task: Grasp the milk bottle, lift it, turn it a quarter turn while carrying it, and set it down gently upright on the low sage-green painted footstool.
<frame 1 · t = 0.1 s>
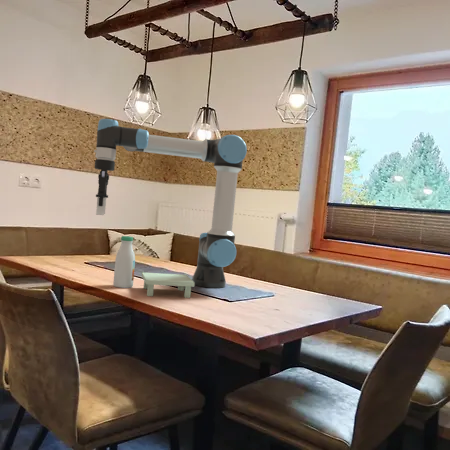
hand: (100, 214, 184), 28 cm above the table, fingers open, 13 cm apart
footstool: (166, 292, 184), on the table
milk bottle: (123, 286, 188), on the table
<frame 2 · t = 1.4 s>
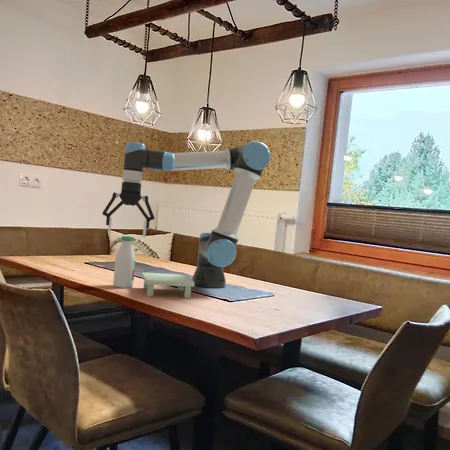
hand: (126, 235, 187), 20 cm above the table, fingers open, 13 cm apart
nothing on the table moved.
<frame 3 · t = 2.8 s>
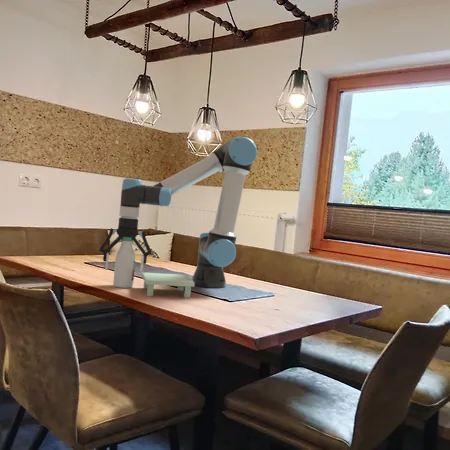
hand: (123, 270, 188), 6 cm above the table, fingers open, 13 cm apart
nothing on the table moved.
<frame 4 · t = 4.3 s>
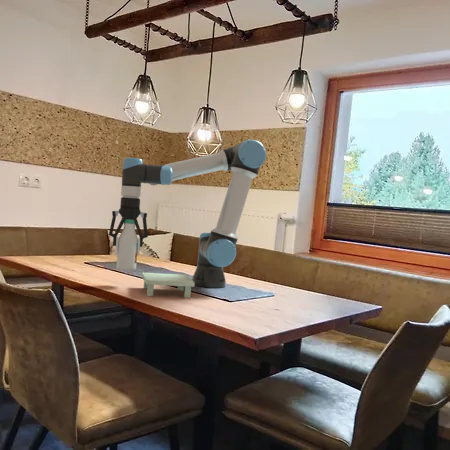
hand: (127, 254, 188), 13 cm above the table, fingers closed on milk bottle, 8 cm apart
milk bottle: (126, 269, 188), point 7 cm above the table, touching gripper
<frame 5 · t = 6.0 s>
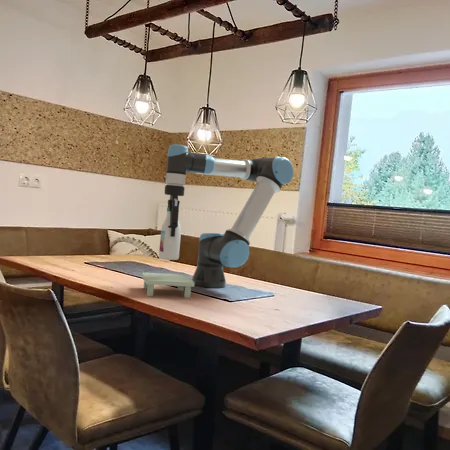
hand: (169, 243, 183), 19 cm above the table, fingers closed on milk bottle, 8 cm apart
milk bottle: (168, 259, 183), point 13 cm above the table, touching gripper
when the fingers open (12 cm above the table, at t = 7.8 s): milk bottle stays where it is, resting on footstool.
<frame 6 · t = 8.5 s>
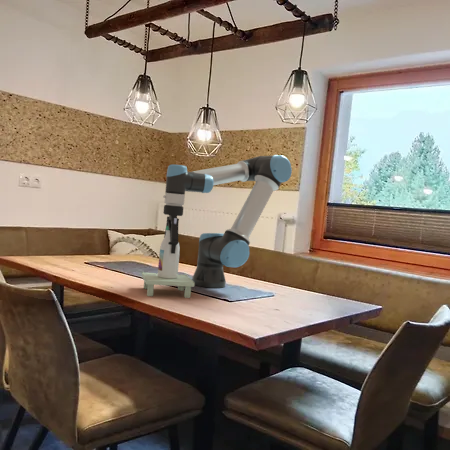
hand: (169, 259, 183), 13 cm above the table, fingers open, 13 cm apart
milk bottle: (167, 277, 183), point 6 cm above the table, touching footstool
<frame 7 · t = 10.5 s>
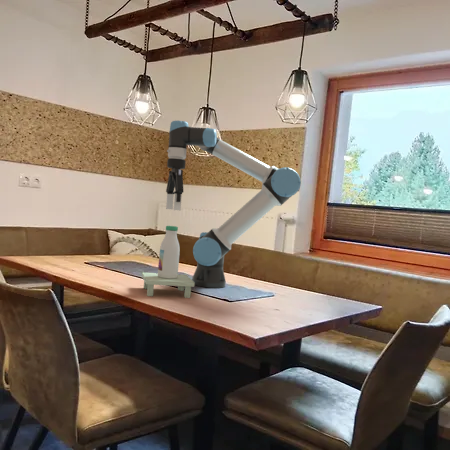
hand: (173, 209, 197), 32 cm above the table, fingers open, 13 cm apart
nothing on the table moved.
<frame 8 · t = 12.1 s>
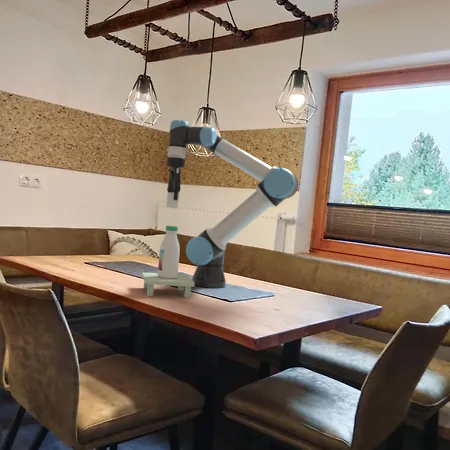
hand: (171, 208, 200), 33 cm above the table, fingers open, 13 cm apart
nothing on the table moved.
at the end: milk bottle inside the target area on the footstool (0.1 cm from its centre), point 5.8 cm above the footstool's base; milk bottle tilted 0°; the gripper is holding nothing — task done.
